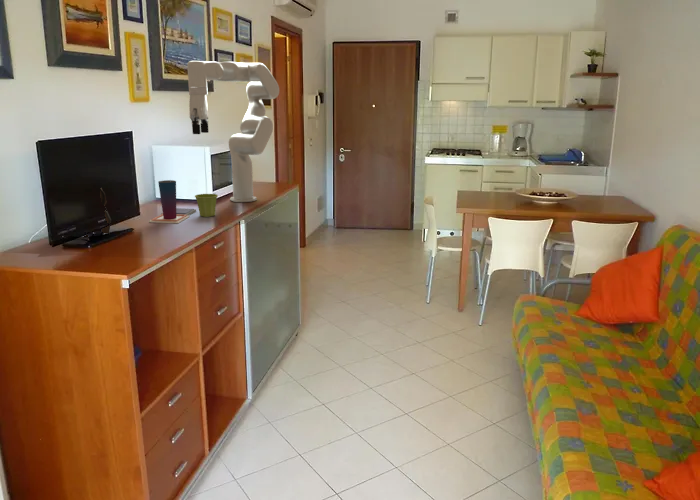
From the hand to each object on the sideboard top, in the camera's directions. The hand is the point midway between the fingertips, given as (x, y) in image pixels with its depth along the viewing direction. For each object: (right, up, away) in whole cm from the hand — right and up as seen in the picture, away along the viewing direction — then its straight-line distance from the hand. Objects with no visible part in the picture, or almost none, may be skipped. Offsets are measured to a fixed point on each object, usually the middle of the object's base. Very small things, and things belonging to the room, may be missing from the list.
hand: (200, 133), depth 242 cm
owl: (-30, -44, -36) cm, 64 cm away
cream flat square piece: (-10, -38, -11) cm, 41 cm away
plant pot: (+4, -36, -3) cm, 36 cm away
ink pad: (-9, -34, 0) cm, 36 cm away
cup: (-10, -37, -11) cm, 40 cm away
